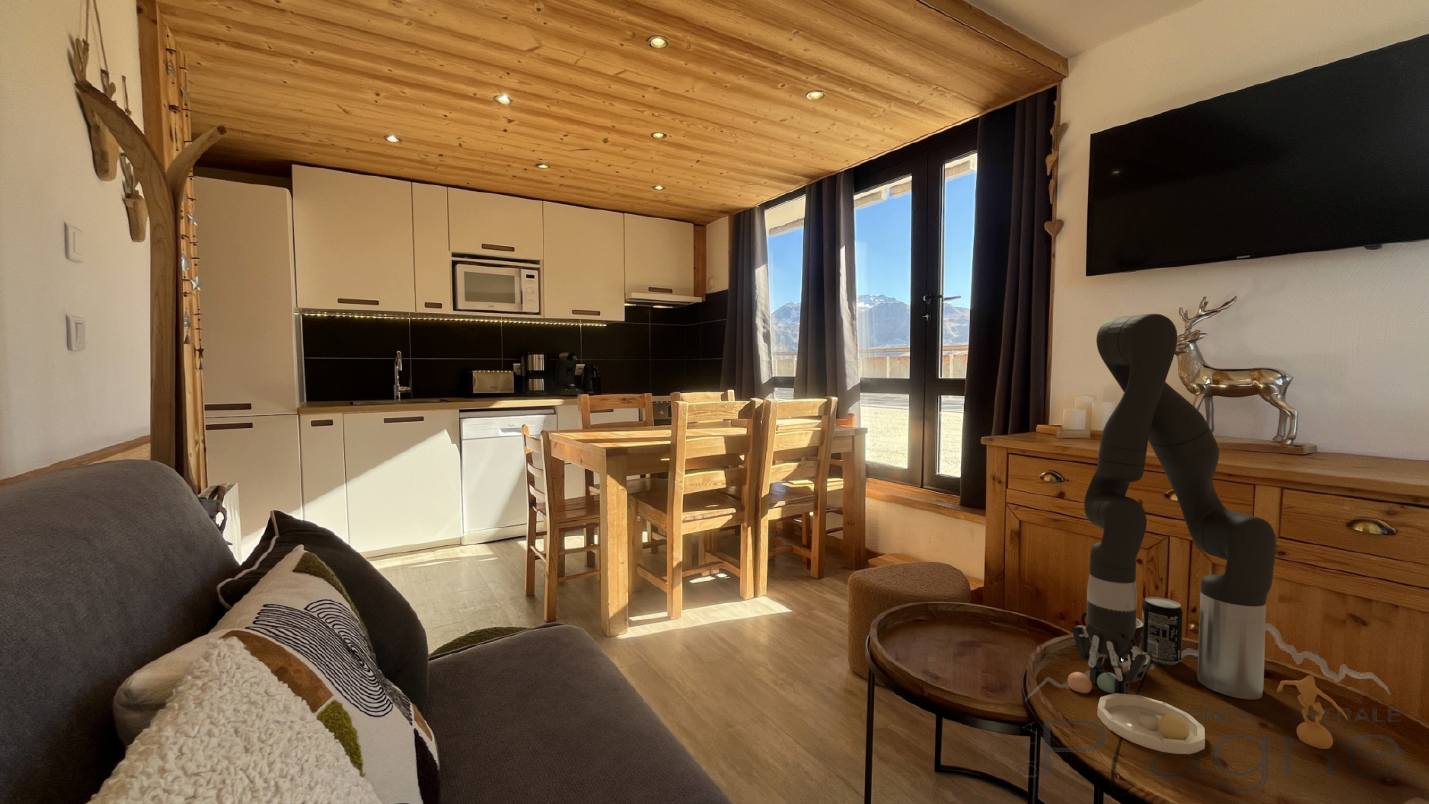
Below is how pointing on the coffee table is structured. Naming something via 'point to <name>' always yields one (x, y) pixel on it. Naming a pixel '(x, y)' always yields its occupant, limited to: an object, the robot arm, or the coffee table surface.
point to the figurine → (1313, 730)
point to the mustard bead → (1174, 727)
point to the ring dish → (1130, 729)
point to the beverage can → (1162, 629)
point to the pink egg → (1079, 682)
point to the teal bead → (1106, 682)
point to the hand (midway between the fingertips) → (1108, 692)
